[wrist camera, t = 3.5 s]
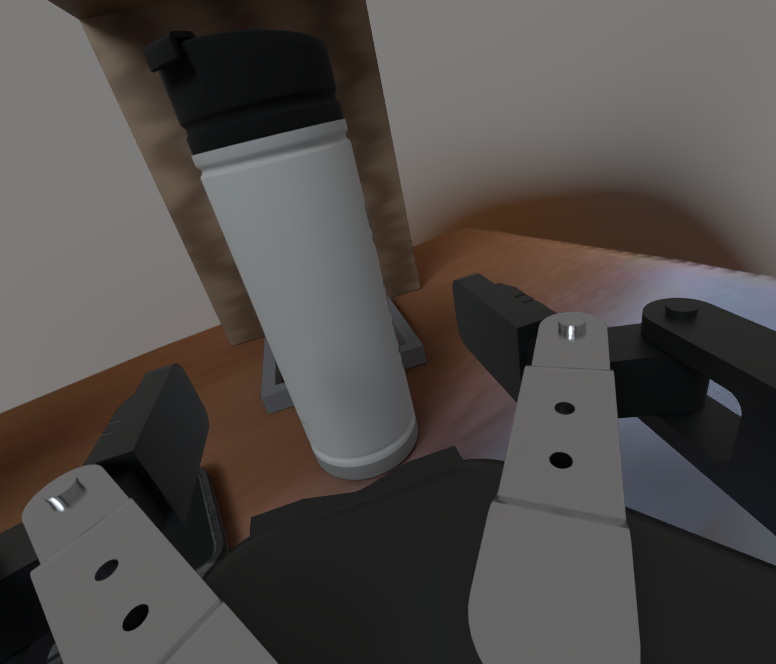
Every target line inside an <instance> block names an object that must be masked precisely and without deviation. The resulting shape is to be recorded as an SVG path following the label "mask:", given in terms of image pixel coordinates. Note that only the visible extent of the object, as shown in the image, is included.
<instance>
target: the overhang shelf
mask: <svg viewBox="0 0 776 664" xmlns="http://www.w3.org/2000/svg"><path fill="white" fill-rule="evenodd" d="M48 1H50V2H52V3H53V4H55V5H56V6H58V7H60V8H61V9H63V10H65V11H66V12H68V13H69V14H71V15H73V16H74V17H76V18H78V19H79V20H80V22H81V24H82V27H83V29H84V31H85V33H86V35H87V37H88V39H89V42H90V43H91V46H92V48H93V50H94V52H95V54H96V57H97V59H98V61H99V63H100V65H101V67H102V69H103V71H104V74H105V76H106V78H107V80H108V82H109V84H110V87H111V88H112V91H113V93H114V95H115V97H116V99H117V101H118V104H119V106H120V108H121V110H122V112H123V114H124V116H125V118H126V121H127V123H128V125H129V127H130V129H131V132H132V134H133V136H134V138H135V140H136V142H137V145H138V147H139V149H140V151H141V153H142V155H143V157H144V160H145V162H146V164H147V166H148V168H149V170H150V172H151V174H152V177H153V179H154V181H155V183H156V185H157V187H158V189H159V192H160V194H161V196H162V198H163V200H164V202H165V204H166V207H167V209H168V211H169V213H170V215H171V217H172V220H173V222H174V224H175V226H176V228H177V230H178V232H179V235H180V237H181V239H182V241H183V243H184V245H185V247H186V250H187V252H188V254H189V256H190V258H191V260H192V262H193V264H194V267H195V269H196V271H197V273H198V275H199V277H200V280H201V282H202V284H203V286H204V288H205V290H206V292H207V295H208V297H209V299H210V301H211V303H212V305H213V307H214V309H215V312H216V314H217V316H218V318H219V320H220V322H221V325H222V327H223V329H224V331H225V333H226V335H227V338H228V340H229V342H230V344H231V346H233V345H237V344H240V343H243V342H247V341H250V340H253V339H256V338H260V337H263V336H265V333H264V331H263V329H262V326H261V324H260V321H259V319H258V316H257V314H256V312H255V309H254V307H253V304H252V302H251V299H250V297H249V295H248V292H247V290H246V287H245V285H244V283H243V280H242V278H241V275H240V273H239V270H238V268H237V266H236V263H235V261H234V258H233V256H232V253H231V251H230V249H229V246H228V244H227V241H226V239H225V237H224V234H223V232H222V229H221V227H220V224H219V222H218V220H217V217H216V215H215V212H214V210H213V207H212V205H211V203H210V200H209V198H208V195H207V193H206V191H205V188H204V186H203V183H202V181H201V176H202V171H201V170H200V169H198V168H197V167H196V166H195V164H194V161H193V159H192V157H191V156H194V155H192V153H191V150H190V148H189V145H188V143H187V141H186V138H187V132H186V130H185V129H184V128H183V127H181V126H180V124H179V121H178V119H177V116H176V114H175V111H174V109H173V106H172V104H171V101H170V99H169V97H168V94H167V92H166V89H165V87H164V84H163V82H162V79H161V77H160V75H159V72H158V71H157V72H151V70H150V68H149V65H148V63H147V60H146V58H145V55H144V52H143V51H144V48H145V47H146V46H148V45H150V44H151V43H153V42H155V41H156V40H158V39H159V38H161V37H163V36H164V35H166V34H167V33H169V32H170V31H191V32H193V33H194V35H195V36H196V37H200V36H204V35H209V34H214V33H221V32H228V31H238V30H255V29H272V30H288V31H294V32H301V33H305V34H308V35H312V36H314V37H316V38H318V39H320V40H322V41H323V42H324V43H325V44H326V45H327V50H328V54H329V58H330V62H331V67H332V71H333V75H334V79H335V83H336V88H337V92H336V94H335V96H336V99H337V101H339V102H340V104H341V109H342V113H343V117H344V118H343V119H345V120H346V124H347V128H348V130H347V132H346V137H347V138H348V139H349V140H350V141H351V145H352V149H353V153H354V158H355V162H356V166H357V170H358V175H359V179H360V183H361V187H362V192H363V196H364V200H365V204H366V209H367V213H368V217H369V221H370V226H371V230H372V234H373V238H374V243H375V247H376V251H377V255H378V260H379V264H380V268H381V272H382V277H383V281H384V285H385V289H386V294H387V295H388V296H389V298H391V297H395V296H398V295H401V294H405V293H408V292H411V291H414V290H418V289H421V288H420V283H419V278H418V272H417V267H416V262H415V257H414V251H413V246H412V241H411V236H410V230H409V226H408V220H407V215H406V209H405V204H404V199H403V194H402V188H401V183H400V178H399V173H398V168H397V162H396V157H395V152H394V147H393V141H392V137H391V131H390V126H389V120H388V115H387V110H386V105H385V99H384V95H383V89H382V84H381V79H380V73H379V69H378V63H377V58H376V53H375V47H374V42H373V37H372V31H371V26H370V21H369V16H368V11H367V6H366V0H48Z"/></svg>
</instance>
